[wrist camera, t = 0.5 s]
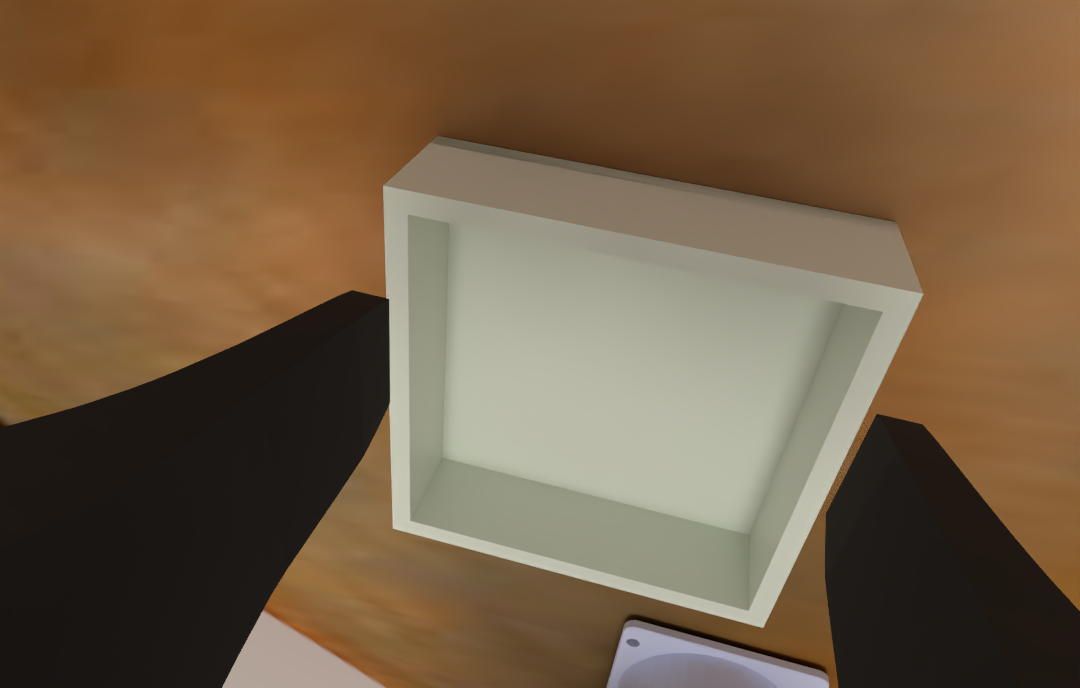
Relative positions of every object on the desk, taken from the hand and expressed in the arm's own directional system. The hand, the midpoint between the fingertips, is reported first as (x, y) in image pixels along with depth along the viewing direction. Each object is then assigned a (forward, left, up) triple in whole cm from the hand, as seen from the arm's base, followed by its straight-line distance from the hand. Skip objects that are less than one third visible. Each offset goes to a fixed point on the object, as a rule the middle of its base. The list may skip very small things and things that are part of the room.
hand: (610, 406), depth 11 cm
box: (-6, 0, -10) cm, 12 cm away
